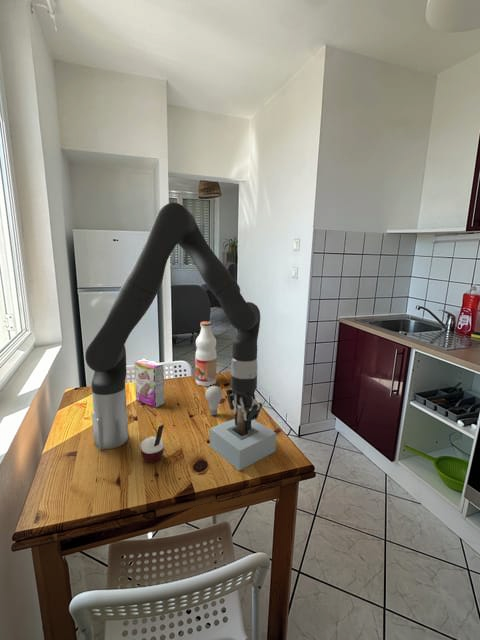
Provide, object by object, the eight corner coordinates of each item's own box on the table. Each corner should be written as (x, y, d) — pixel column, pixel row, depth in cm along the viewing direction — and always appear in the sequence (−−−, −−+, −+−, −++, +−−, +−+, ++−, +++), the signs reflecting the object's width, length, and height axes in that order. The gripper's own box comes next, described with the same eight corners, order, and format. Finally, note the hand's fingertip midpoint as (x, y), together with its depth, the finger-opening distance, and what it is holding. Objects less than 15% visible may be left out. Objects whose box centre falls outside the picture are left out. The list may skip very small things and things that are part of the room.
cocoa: (139, 454, 92) (135, 416, 90) (161, 447, 95) (158, 410, 93) (145, 472, 84) (141, 431, 81) (168, 465, 86) (165, 425, 84)
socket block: (239, 470, 85) (239, 450, 84) (209, 446, 96) (209, 427, 94) (275, 451, 94) (276, 432, 93) (244, 430, 104) (245, 413, 103)
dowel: (241, 440, 92) (242, 408, 90) (234, 434, 94) (235, 403, 92) (250, 436, 94) (251, 405, 92) (243, 430, 96) (244, 400, 94)
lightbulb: (225, 413, 116) (225, 385, 114) (217, 420, 111) (217, 391, 108) (210, 409, 118) (210, 381, 116) (202, 416, 113) (202, 388, 111)
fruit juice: (217, 386, 139) (217, 324, 133) (195, 387, 137) (195, 324, 132) (215, 378, 148) (215, 320, 142) (195, 379, 147) (194, 320, 141)
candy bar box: (135, 401, 124) (133, 361, 120) (145, 396, 128) (143, 357, 125) (155, 408, 118) (154, 367, 115) (165, 403, 122) (164, 363, 119)
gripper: (218, 368, 93) (218, 421, 96) (250, 383, 82) (248, 443, 86) (238, 363, 98) (237, 414, 101) (271, 377, 87) (268, 433, 90)
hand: (242, 427), depth 93 cm, fingers closed on dowel, 3 cm apart
